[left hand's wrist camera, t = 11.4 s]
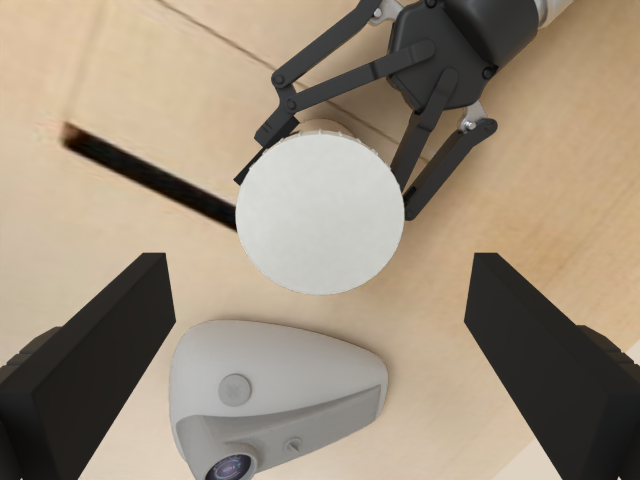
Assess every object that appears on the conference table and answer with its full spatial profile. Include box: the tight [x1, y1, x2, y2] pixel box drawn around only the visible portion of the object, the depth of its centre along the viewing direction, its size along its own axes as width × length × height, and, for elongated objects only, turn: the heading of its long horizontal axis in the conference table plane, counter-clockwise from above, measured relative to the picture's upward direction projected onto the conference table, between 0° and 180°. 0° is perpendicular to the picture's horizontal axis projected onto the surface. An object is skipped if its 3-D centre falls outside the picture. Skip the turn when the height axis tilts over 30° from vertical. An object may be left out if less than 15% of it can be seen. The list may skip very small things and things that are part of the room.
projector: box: [169, 320, 388, 480], centre depth 39 cm, size 22×23×15 cm
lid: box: [236, 129, 404, 295], centre depth 21 cm, size 9×9×2 cm
